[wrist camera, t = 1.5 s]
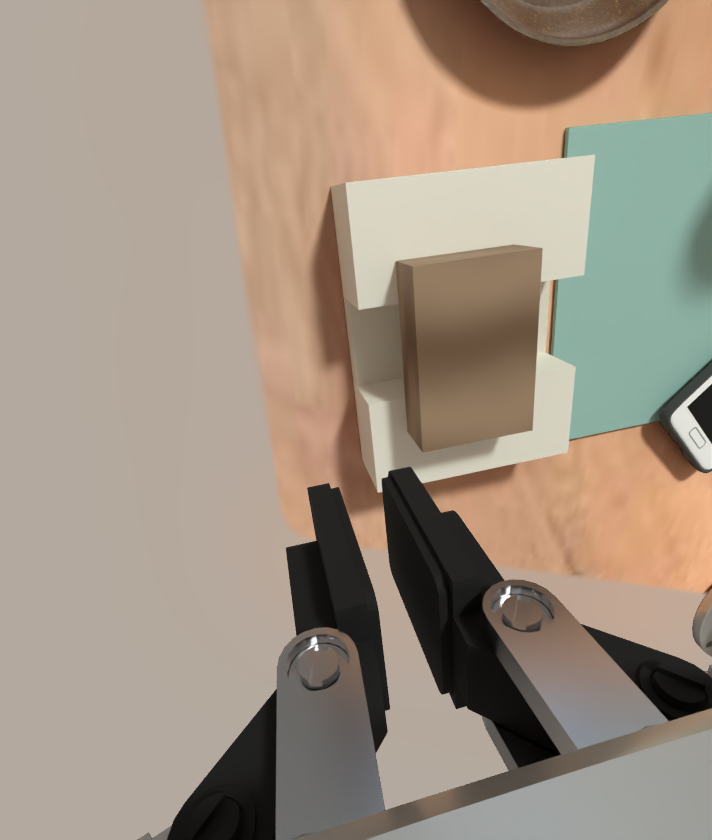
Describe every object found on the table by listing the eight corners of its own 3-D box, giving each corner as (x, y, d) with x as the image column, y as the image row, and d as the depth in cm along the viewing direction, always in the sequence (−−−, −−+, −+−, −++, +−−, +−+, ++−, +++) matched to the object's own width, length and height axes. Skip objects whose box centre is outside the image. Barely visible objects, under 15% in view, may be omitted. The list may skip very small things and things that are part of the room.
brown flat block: (508, 412, 27) (532, 430, 25) (407, 431, 26) (422, 452, 24) (514, 244, 23) (542, 248, 21) (395, 260, 22) (412, 266, 20)
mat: (716, 406, 36) (720, 408, 35) (544, 442, 33) (546, 444, 33) (786, 105, 28) (791, 104, 27) (565, 128, 25) (569, 127, 25)
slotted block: (532, 425, 33) (567, 452, 29) (362, 460, 31) (377, 492, 27) (547, 162, 26) (595, 154, 22) (330, 186, 24) (345, 182, 21)
